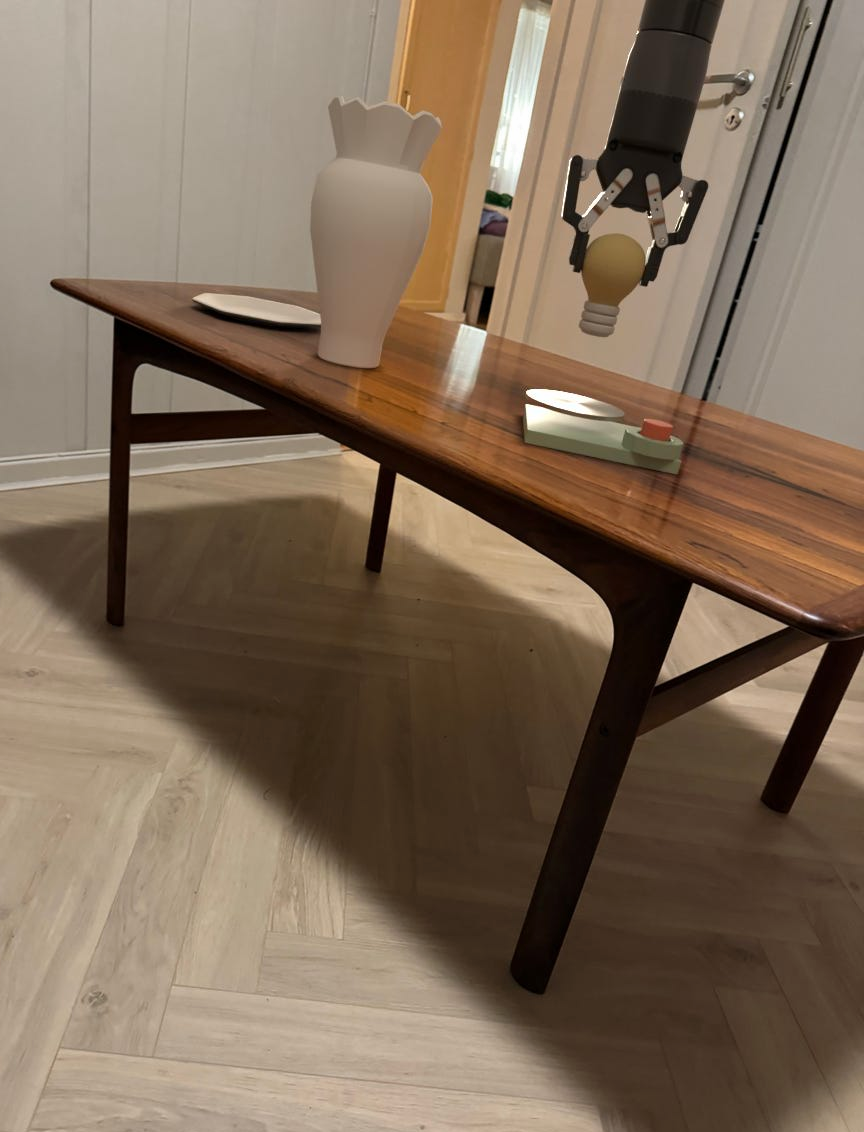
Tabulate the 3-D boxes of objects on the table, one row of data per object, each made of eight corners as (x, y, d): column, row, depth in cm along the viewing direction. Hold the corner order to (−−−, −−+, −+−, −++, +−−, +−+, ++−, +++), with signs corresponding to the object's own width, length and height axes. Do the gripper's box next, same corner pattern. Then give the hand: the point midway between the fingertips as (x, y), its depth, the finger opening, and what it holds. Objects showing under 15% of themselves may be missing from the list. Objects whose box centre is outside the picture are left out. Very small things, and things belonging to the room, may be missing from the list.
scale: (657, 443, 105) (665, 418, 104) (678, 477, 92) (688, 448, 91) (522, 415, 106) (529, 390, 105) (524, 444, 92) (531, 415, 91)
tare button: (665, 439, 95) (670, 422, 94) (670, 445, 92) (675, 429, 91) (637, 433, 95) (642, 416, 94) (641, 439, 92) (646, 422, 91)
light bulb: (553, 326, 97) (577, 225, 93) (598, 331, 100) (624, 234, 96) (590, 338, 92) (618, 233, 88) (636, 344, 95) (665, 242, 91)
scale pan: (618, 407, 105) (619, 403, 104) (629, 427, 95) (630, 423, 95) (524, 388, 105) (525, 384, 105) (526, 406, 95) (527, 401, 95)
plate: (170, 300, 137) (171, 289, 136) (276, 308, 150) (277, 298, 149) (243, 330, 124) (244, 318, 124) (351, 335, 137) (353, 325, 137)
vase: (317, 343, 125) (350, 104, 113) (416, 367, 122) (462, 125, 110) (273, 354, 113) (305, 85, 100) (383, 381, 110) (431, 108, 97)
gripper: (588, 75, 83) (542, 267, 91) (742, 105, 83) (684, 295, 90) (582, 85, 90) (540, 263, 98) (725, 113, 90) (672, 290, 97)
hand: (609, 278), depth 94 cm, fingers closed on light bulb, 6 cm apart
